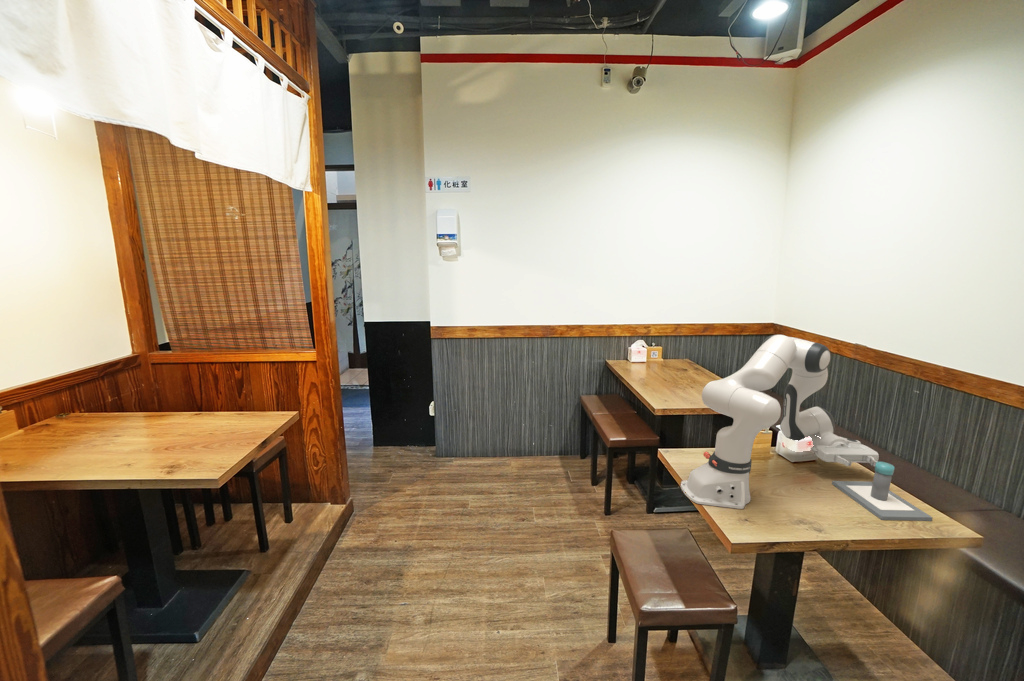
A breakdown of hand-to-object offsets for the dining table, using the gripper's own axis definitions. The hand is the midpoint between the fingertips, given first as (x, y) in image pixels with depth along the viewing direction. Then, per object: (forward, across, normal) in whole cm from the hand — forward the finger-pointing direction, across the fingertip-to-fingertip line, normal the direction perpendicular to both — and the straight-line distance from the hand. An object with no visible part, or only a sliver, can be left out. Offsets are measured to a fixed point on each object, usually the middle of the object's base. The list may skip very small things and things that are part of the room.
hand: (862, 464), depth 155 cm
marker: (+9, 0, +8) cm, 12 cm away
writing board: (+9, 0, +9) cm, 13 cm away
